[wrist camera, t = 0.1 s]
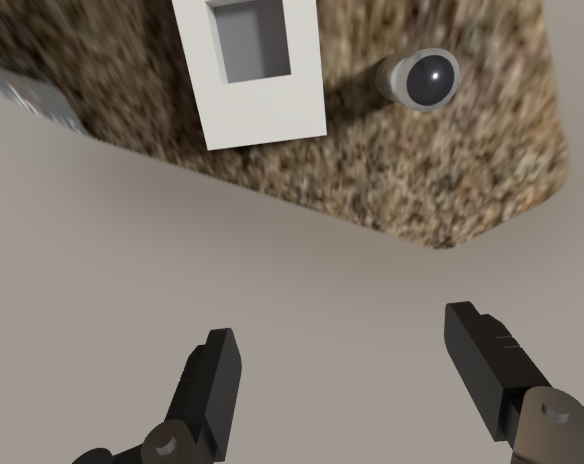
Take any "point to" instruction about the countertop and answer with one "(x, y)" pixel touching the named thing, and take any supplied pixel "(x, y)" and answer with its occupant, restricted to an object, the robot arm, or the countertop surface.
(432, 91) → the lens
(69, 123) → the countertop surface
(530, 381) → the robot arm
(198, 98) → the white slotted plate
